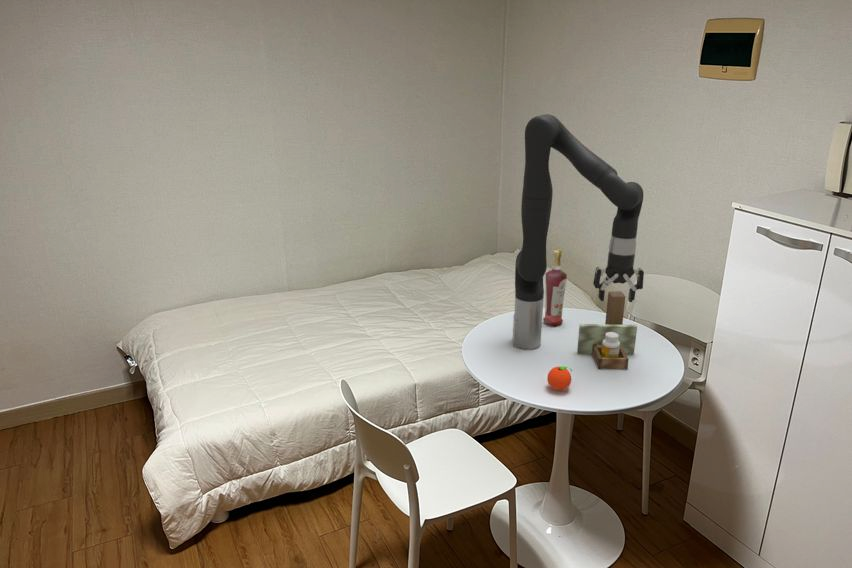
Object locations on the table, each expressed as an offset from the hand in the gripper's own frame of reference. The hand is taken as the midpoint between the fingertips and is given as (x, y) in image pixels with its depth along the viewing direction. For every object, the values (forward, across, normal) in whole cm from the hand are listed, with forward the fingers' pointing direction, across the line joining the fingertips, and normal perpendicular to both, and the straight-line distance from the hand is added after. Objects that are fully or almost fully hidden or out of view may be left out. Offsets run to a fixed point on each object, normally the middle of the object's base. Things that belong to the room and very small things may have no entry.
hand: (616, 300), depth 189 cm
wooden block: (+21, +6, +14) cm, 26 cm away
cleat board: (+21, 0, +1) cm, 21 cm away
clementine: (+22, -18, -17) cm, 33 cm away
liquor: (+22, -14, +29) cm, 39 cm away
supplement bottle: (+21, 0, 0) cm, 21 cm away
